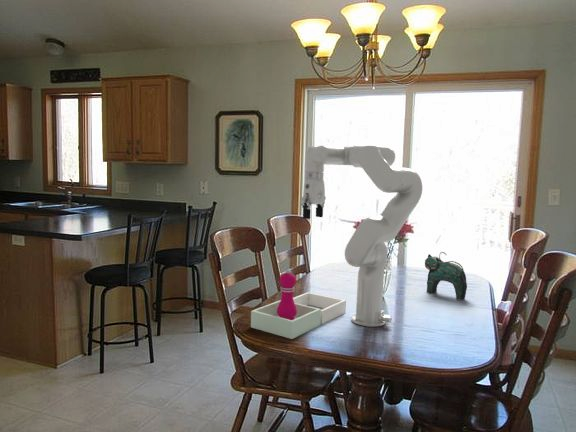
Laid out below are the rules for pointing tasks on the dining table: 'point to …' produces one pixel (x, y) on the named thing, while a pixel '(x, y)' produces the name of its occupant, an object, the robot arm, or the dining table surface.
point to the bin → (285, 320)
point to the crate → (323, 305)
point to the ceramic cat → (445, 275)
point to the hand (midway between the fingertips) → (312, 217)
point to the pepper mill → (287, 296)
